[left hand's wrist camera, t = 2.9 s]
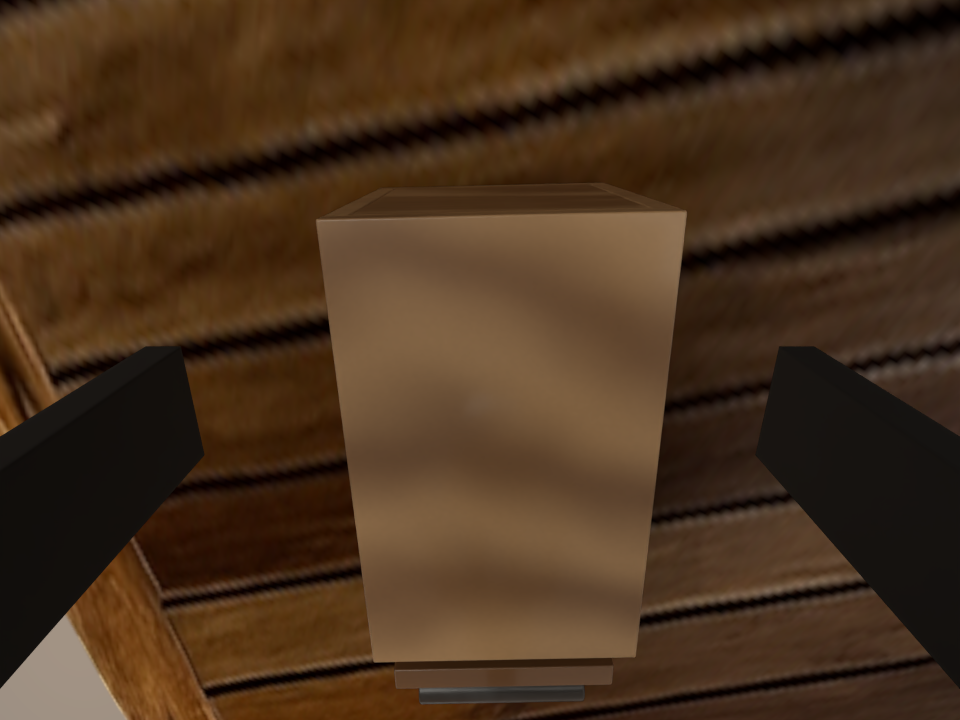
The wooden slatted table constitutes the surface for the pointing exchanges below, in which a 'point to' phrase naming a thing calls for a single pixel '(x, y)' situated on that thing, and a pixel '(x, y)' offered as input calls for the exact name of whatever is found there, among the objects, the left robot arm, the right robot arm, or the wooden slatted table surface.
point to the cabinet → (502, 411)
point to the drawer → (503, 679)
